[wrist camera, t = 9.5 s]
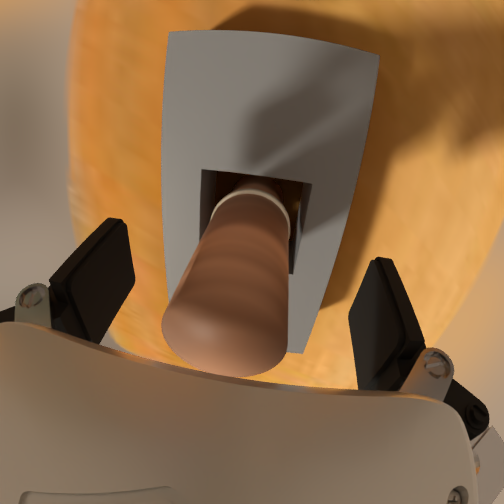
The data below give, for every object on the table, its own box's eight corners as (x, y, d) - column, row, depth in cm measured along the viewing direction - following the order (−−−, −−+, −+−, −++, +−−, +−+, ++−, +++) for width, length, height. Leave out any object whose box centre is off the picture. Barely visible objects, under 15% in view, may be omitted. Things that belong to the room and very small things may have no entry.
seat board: (193, 42, 13) (169, 31, 10) (359, 62, 13) (380, 55, 10) (186, 299, 24) (172, 333, 21) (301, 317, 24) (302, 353, 20)
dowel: (228, 163, 18) (151, 278, 8) (293, 172, 18) (305, 302, 7) (223, 222, 20) (166, 365, 10) (283, 230, 20) (278, 385, 10)
